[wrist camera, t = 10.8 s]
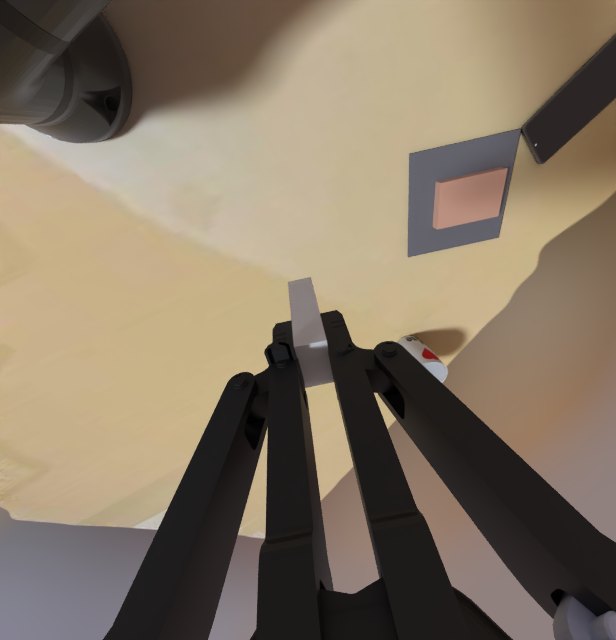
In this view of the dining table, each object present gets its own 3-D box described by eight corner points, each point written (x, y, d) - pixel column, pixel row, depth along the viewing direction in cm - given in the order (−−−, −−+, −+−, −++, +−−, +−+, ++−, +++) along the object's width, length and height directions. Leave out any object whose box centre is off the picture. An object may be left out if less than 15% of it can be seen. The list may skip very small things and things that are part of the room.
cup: (431, 342, 62) (455, 374, 53) (402, 364, 65) (421, 397, 56) (410, 323, 58) (432, 355, 50) (380, 347, 61) (397, 381, 53)
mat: (409, 153, 40) (410, 153, 40) (518, 128, 40) (520, 128, 40) (407, 256, 50) (408, 257, 49) (496, 236, 49) (498, 237, 49)
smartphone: (655, 63, 37) (541, 166, 43) (646, 65, 38) (535, 166, 44) (642, 9, 34) (521, 128, 39) (633, 12, 35) (515, 128, 40)
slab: (440, 183, 41) (507, 168, 41) (435, 181, 43) (500, 167, 42) (437, 229, 45) (498, 216, 45) (432, 226, 47) (491, 213, 46)
